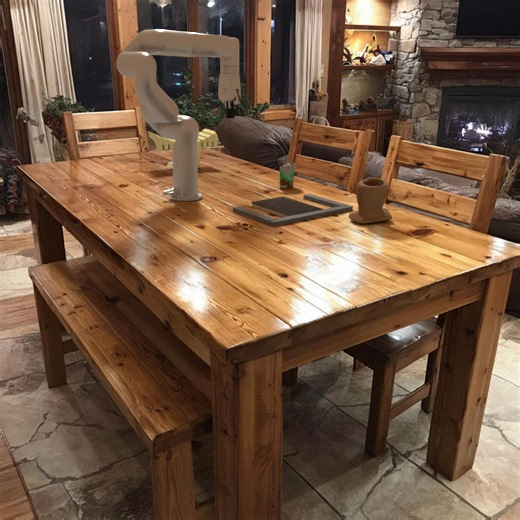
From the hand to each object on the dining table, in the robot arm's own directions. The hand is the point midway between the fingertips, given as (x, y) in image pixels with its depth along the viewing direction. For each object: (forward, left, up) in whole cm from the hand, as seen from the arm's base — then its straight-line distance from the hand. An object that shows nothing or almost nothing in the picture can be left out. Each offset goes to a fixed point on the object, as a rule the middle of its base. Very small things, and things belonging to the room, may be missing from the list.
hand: (230, 118), depth 228 cm
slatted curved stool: (+7, +53, -29) cm, 61 cm away
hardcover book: (-3, -41, -30) cm, 51 cm away
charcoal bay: (-2, -43, -29) cm, 52 cm away
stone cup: (+11, -70, -29) cm, 77 cm away
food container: (+22, -12, -29) cm, 39 cm away
